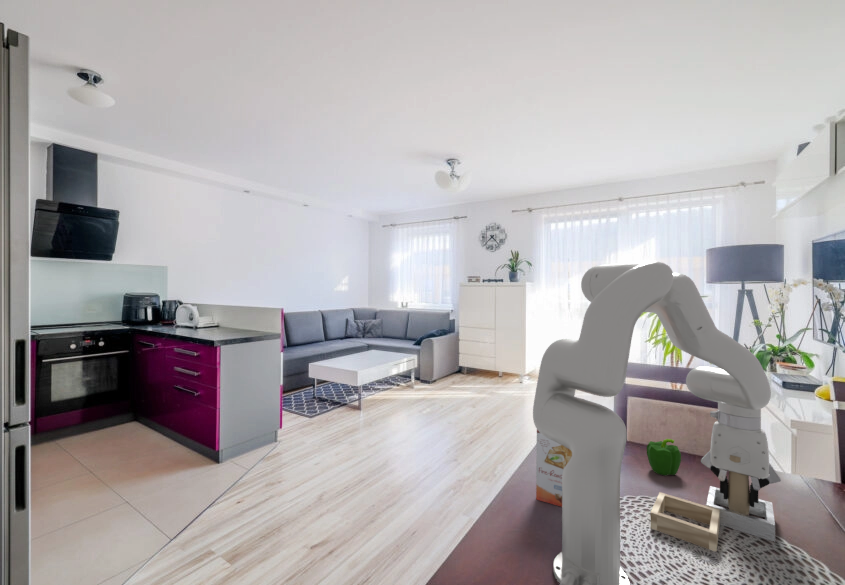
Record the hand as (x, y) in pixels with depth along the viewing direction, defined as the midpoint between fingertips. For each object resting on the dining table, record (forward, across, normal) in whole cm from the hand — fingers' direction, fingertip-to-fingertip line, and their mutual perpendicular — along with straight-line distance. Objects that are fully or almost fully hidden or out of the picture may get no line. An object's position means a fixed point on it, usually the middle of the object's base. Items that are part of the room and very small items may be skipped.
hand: (738, 500), depth 85 cm
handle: (+4, 0, 0) cm, 4 cm away
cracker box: (+5, -32, -20) cm, 38 cm away
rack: (+4, -9, -12) cm, 15 cm away
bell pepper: (+5, -17, +15) cm, 23 cm away
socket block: (+4, 0, 0) cm, 4 cm away
